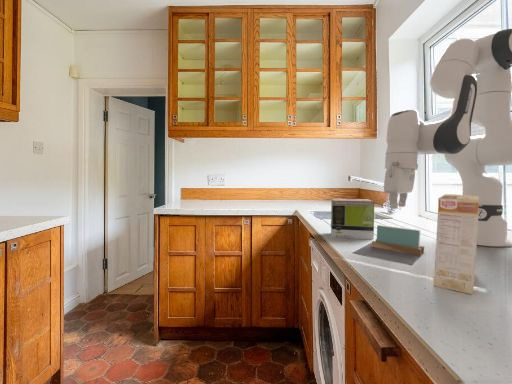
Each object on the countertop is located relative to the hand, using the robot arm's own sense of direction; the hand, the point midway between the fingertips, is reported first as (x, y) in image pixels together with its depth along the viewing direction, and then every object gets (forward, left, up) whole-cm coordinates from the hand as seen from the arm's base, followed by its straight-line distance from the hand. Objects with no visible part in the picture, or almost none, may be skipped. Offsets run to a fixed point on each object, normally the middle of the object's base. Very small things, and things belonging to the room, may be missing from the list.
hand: (398, 207), depth 86 cm
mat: (+5, -1, -14) cm, 15 cm away
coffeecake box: (+17, +17, -14) cm, 27 cm away
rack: (0, 0, -13) cm, 13 cm away
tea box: (-10, -19, -14) cm, 26 cm away
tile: (0, 0, -13) cm, 13 cm away
